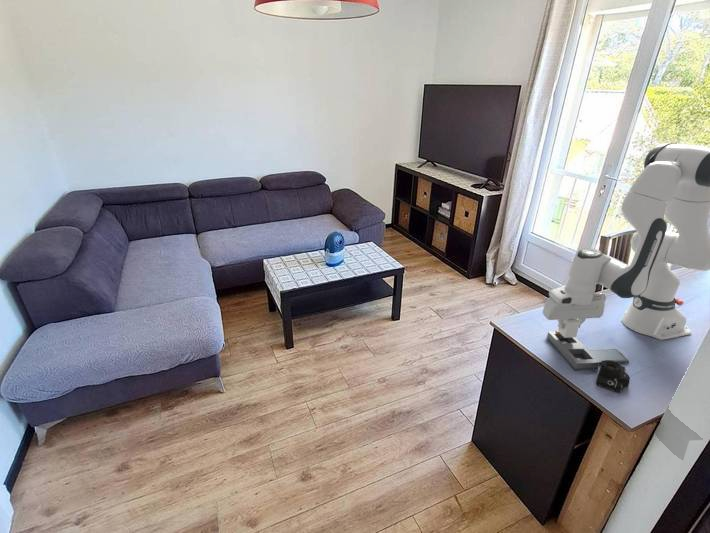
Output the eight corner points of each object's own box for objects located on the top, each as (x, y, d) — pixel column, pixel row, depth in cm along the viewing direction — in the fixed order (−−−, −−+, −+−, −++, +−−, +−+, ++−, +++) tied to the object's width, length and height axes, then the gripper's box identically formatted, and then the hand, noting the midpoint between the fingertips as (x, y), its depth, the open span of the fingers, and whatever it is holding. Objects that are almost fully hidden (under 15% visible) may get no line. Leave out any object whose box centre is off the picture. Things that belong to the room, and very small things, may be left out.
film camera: (602, 348, 125) (637, 356, 117) (603, 367, 127) (638, 377, 119) (585, 367, 118) (621, 377, 110) (586, 387, 120) (622, 398, 112)
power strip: (567, 337, 140) (569, 329, 138) (597, 369, 124) (600, 360, 122) (546, 338, 139) (548, 330, 138) (574, 370, 123) (577, 361, 122)
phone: (615, 351, 132) (616, 348, 131) (628, 363, 126) (629, 360, 126) (580, 352, 131) (581, 350, 131) (592, 364, 126) (592, 362, 125)
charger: (569, 330, 135) (573, 314, 132) (575, 337, 132) (580, 321, 129) (558, 330, 135) (562, 315, 132) (564, 337, 131) (568, 322, 128)
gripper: (601, 288, 129) (590, 321, 135) (544, 290, 129) (537, 323, 135) (613, 297, 124) (602, 331, 130) (554, 300, 123) (546, 333, 129)
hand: (568, 327), depth 132 cm, fingers closed on charger, 4 cm apart
